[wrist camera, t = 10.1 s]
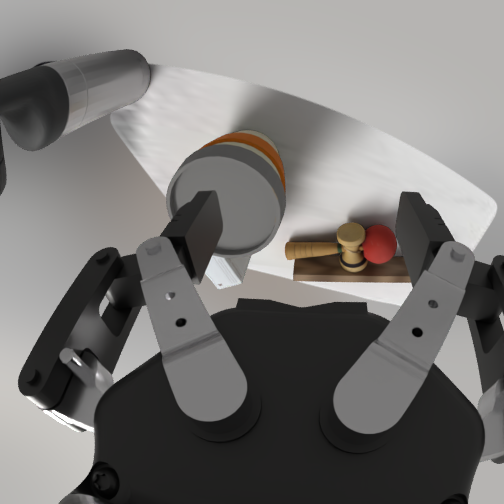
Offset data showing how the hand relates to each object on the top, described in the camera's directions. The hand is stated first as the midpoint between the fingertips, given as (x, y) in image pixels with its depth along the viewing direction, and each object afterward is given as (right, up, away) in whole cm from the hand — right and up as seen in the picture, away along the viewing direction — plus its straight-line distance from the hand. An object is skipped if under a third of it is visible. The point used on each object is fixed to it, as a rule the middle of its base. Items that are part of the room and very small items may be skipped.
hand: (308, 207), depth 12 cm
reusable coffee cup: (-3, +12, +28) cm, 31 cm away
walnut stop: (+17, -3, +36) cm, 39 cm away
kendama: (+12, 0, +34) cm, 36 cm away
